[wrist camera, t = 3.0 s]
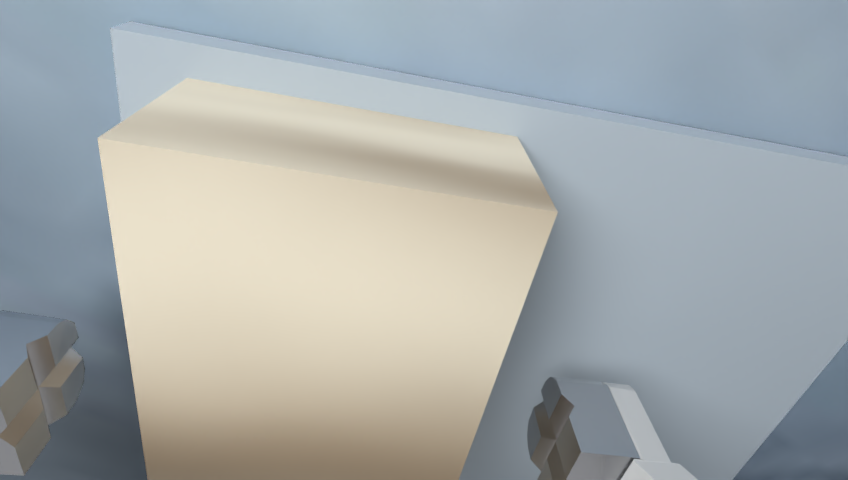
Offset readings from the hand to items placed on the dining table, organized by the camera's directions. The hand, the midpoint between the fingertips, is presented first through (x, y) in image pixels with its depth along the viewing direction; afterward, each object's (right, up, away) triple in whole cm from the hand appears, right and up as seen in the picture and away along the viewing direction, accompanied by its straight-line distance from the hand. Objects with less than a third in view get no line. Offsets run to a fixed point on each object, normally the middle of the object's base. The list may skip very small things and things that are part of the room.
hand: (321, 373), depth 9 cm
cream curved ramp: (0, +1, +1) cm, 1 cm away
